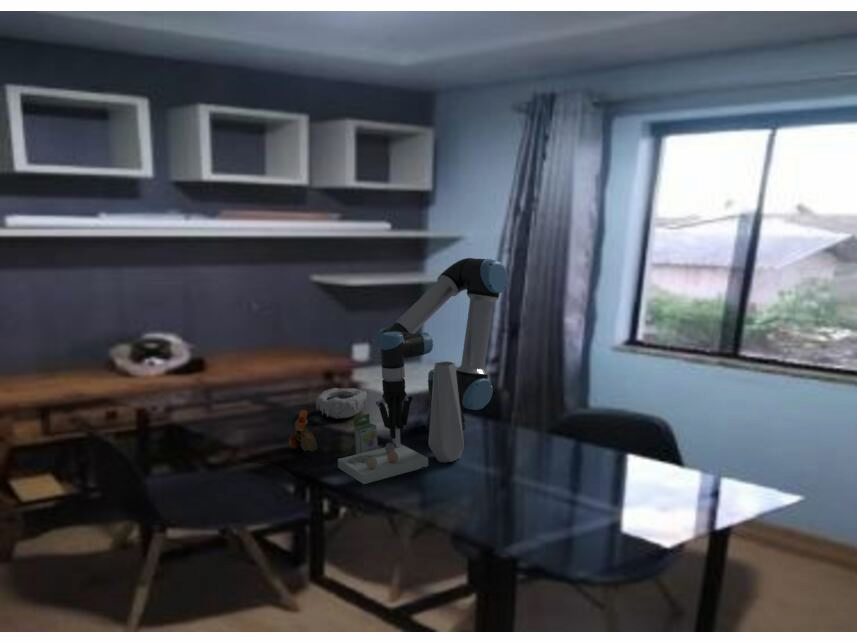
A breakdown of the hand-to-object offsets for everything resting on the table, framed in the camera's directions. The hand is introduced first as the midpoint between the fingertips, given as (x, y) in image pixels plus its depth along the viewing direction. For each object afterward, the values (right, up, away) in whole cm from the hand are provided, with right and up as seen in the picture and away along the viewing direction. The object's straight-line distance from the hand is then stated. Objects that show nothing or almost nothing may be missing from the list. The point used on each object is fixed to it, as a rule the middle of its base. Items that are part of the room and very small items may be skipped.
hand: (396, 446), depth 262 cm
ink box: (-11, -4, +8) cm, 14 cm away
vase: (+18, -4, -1) cm, 18 cm away
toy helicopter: (-32, -4, +12) cm, 35 cm away
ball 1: (-7, -3, -14) cm, 16 cm away
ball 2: (-1, -2, -10) cm, 10 cm away
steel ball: (-2, 0, -1) cm, 3 cm away
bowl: (-24, +4, +52) cm, 58 cm away
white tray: (-4, -6, -5) cm, 9 cm away
